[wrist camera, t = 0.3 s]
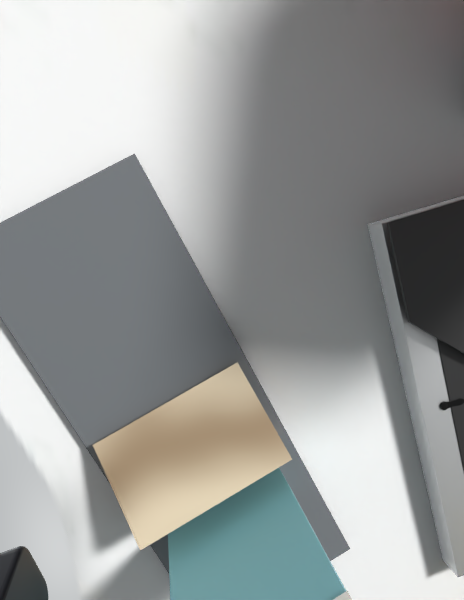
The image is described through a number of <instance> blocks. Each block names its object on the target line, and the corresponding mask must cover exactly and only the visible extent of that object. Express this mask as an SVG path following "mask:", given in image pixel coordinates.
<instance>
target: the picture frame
mask: <svg viewBox="0 0 464 600" xmlns="http://www.w3.org/2000/svg"><path fill="white" fill-rule="evenodd" d="M368 229H369V233H370V238H371V242H372V246H373V251H374V255H375V260H376V264H377V269H378V273H379V278H380V282H381V287H382V291H383V296H384V300H385V304H386V309H387V313H388V318H389V322H390V327H391V331H392V336H393V340H394V345H395V349H396V353H397V358H398V362H399V367H400V371H401V376H402V380H403V385H404V389H405V394H406V398H407V403H408V407H409V411H410V416H411V420H412V425H413V429H414V434H415V438H416V443H417V447H418V452H419V456H420V460H421V465H422V469H423V474H424V478H425V483H426V487H427V492H428V496H429V501H430V505H431V510H432V514H433V518H434V523H435V527H436V532H437V536H438V541H439V545H440V550H441V554H442V559H443V561H444V562H445V563H446V564H447V566H448V567H449V568H450V569H451V570H452V571H453V572H454V573H455V575H456V576H457V577H460V576H463V575H464V195H463V196H460V197H457V198H453V199H450V200H447V201H443V202H440V203H437V204H433V205H430V206H426V207H423V208H420V209H416V210H413V211H410V212H406V213H403V214H400V215H396V216H393V217H390V218H386V219H383V220H380V221H376V222H373V223H369V224H368Z"/></svg>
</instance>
